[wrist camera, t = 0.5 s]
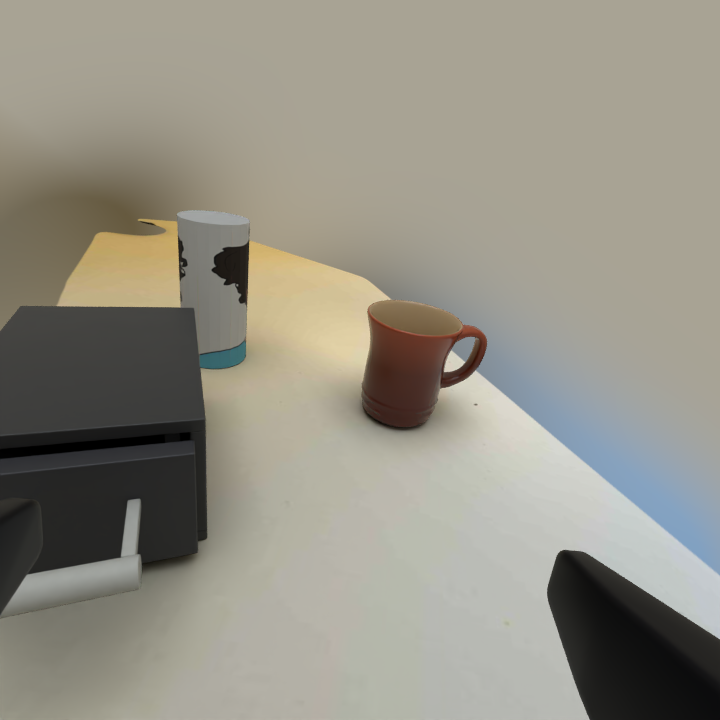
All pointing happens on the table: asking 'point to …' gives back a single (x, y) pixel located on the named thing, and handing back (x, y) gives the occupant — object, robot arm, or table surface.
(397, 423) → the mug
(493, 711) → the table surface
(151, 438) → the drawer
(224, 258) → the cup
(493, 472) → the table surface
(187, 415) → the cabinet
